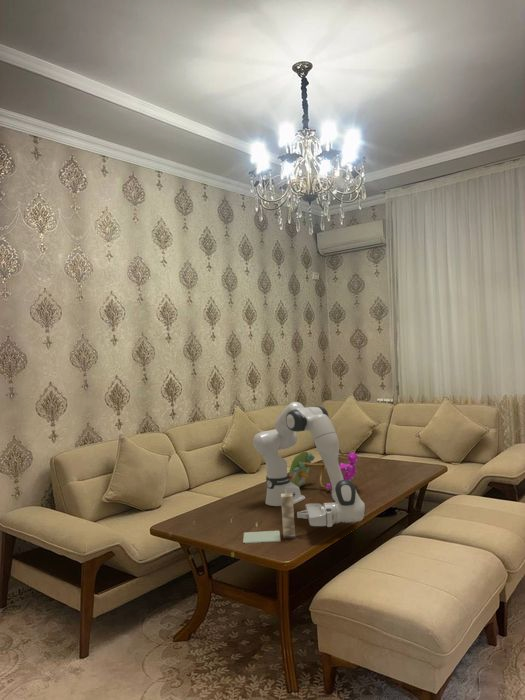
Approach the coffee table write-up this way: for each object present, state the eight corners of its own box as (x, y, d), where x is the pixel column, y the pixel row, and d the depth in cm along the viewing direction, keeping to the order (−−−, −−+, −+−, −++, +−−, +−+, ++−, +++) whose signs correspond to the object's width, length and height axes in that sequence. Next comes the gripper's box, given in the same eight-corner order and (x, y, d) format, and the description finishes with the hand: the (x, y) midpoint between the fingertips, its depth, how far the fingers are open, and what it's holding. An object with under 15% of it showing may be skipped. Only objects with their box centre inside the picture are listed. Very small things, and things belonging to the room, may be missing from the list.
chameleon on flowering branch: (308, 433, 312) (364, 445, 295) (310, 475, 321) (364, 489, 304) (285, 456, 288) (344, 470, 271) (287, 501, 297) (345, 517, 279)
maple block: (294, 533, 232) (292, 493, 232) (295, 537, 227) (292, 496, 227) (283, 534, 232) (280, 493, 232) (283, 538, 227) (281, 497, 227)
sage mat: (279, 531, 236) (279, 530, 236) (280, 541, 224) (280, 540, 224) (244, 533, 236) (243, 532, 236) (243, 543, 224) (243, 542, 224)
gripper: (325, 499, 240) (294, 500, 240) (331, 513, 220) (298, 515, 220) (325, 512, 240) (295, 514, 240) (332, 528, 220) (299, 530, 220)
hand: (297, 514), depth 230 cm, fingers closed
